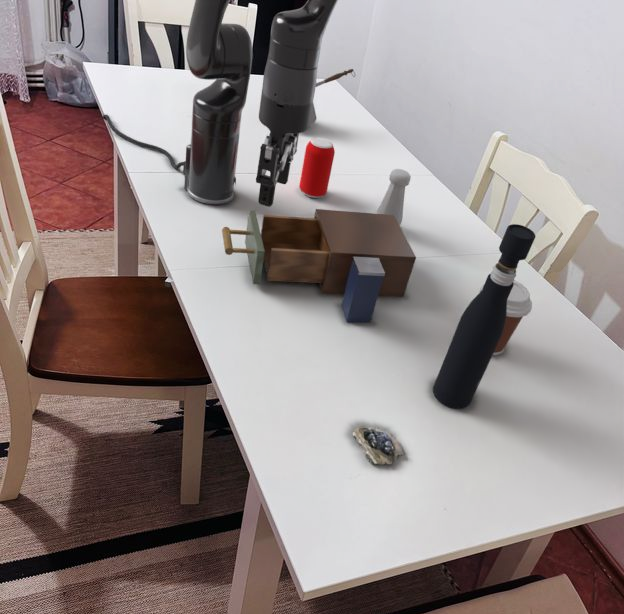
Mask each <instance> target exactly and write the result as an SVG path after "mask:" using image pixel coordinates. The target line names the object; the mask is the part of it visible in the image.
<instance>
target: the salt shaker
mask: <svg viewBox="0 0 624 614" xmlns="http://www.w3.org/2000/svg"><path fill="white" fill-rule="evenodd" d="M411 177H412V176H411V174H410V173H409V171H407V170H405V169H402V168H394V169H392V170H391V172H390V174H389V177H388V179H389V182H390V184H389V185H388V188H387V190H386V191H385V194H384V196H383V198H382V201H381V203H380V205H379V207H378V209H377V211H376V213H375V214H387V215H394V216H395V218H396V220H397V222H398V223H399V225H400V226H401V225H402V222H403V216H404V204H405V203H404V202H405V192H406V187H408V186H409V185H410V183H411Z"/></svg>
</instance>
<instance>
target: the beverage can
mask: <svg viewBox="0 0 624 614" xmlns="http://www.w3.org/2000/svg"><path fill="white" fill-rule="evenodd" d="M335 153H336V151H335V147H334V145H333V143H332V142H331V141H330V140H328V139H327V138H323V137H313V138H312V139H310V140H309V141H308V143H307V144H306V147H305V151H304V156H303V163H302V169H301V175H300V179H299V180H300V181H299V190H300V191H301V193H302V194H303V195H305V196H307V197H309V198H312V199H317V198H318V199H319V198H322V197H324V196H326V195H327V192H328V187H329V183H330V177H331V172H332V168H333V163H334V160H335V159H334V157H335Z"/></svg>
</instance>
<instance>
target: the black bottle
mask: <svg viewBox="0 0 624 614" xmlns="http://www.w3.org/2000/svg"><path fill="white" fill-rule="evenodd" d="M535 239H536V234H535V232H534V231H533V230H532V229H531V228H529V227H527V226H525V225H522V224H517V223H512V224H509V225H508V226H507V227H506V229H505V232H504V234H503V237H502V239H501V242H500V244H499V246H498V250H499V252H500V253H501V255H500V257H499V259H498V261H497V262H496V263H495V264H494V266H492V270H491V271H490V273H488V275H487V277H486V279H485V282H484V284H483V285H484V286H483V285H482V286H483V289H482V291H481V292H480V291H479V292H478V294H476V296H475V297H474V298H473V299H472V300H471V301H470V302H469V304H467V306H466V308H465V310H464V311H463V313H462V315H461V317H460V319H459V321H458V323H457V326H456V328H455V331H454V334H453V336H452V339H451V341H450V344H449V346H448V349H447V351H446V354H445V357H444V359H443V361H442V364H441V366H440V369H439V371H438V373H437V377H436V378H435V382H434V384H433V386H432V393H433V396H434V398H435V399H436V400H437V401H438V402H439V403H440V404H442V405H444V406H445V407H448V408H450V409H456V410H462V409H465V408H468V407H469V406H470V405H471V403H472V401H473V399H474V396H475V395H476V392H477V390H478V388H479V385H480V384H481V381H482V379H483V377H484V374H485V372H486V371H487V368H488V366H489V364H490V362H491V359H492V358H493V356H494V355H493V353H494V351H495V349H496V346H497V344H498V342H499V340H500V338H501V335H502V333H503V330H504V326H505V321H506V314H507V299H508V297H509V295H510V292H511V290H512V288H513V285H514V284H513V282H514V280H515V278H516V277H517V269H518V266H519V263H520V261H524V260H526V259H527V257H528V255H529V252H530V250H531V248H532V246H533V244H534V242H535Z"/></svg>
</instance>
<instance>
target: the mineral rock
mask: <svg viewBox="0 0 624 614" xmlns="http://www.w3.org/2000/svg"><path fill="white" fill-rule="evenodd" d="M352 436H353V437H354V438H355V439H356V440H355V441H356V442H357V443H359V446H360V447H361V448H362V452H363V453H365V457H366V460H368V462H369V463H371V464H373V465H374V464H375V465H376V464H377V465H380V466H381V465H385V464H387V465H392V464H393V463H394V460H395V461H397V459H398V456H402V455H405V450H404V449H403V447H402V445H401V443H400V441H399V440H397V439H396V437H395V436H394V435H393V434H392V433H391V432H389V431H387V430H386V429H382V428H379V427H375V428H374V427H373V426H366V425H359V426H357V427H354V430H352Z"/></svg>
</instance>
